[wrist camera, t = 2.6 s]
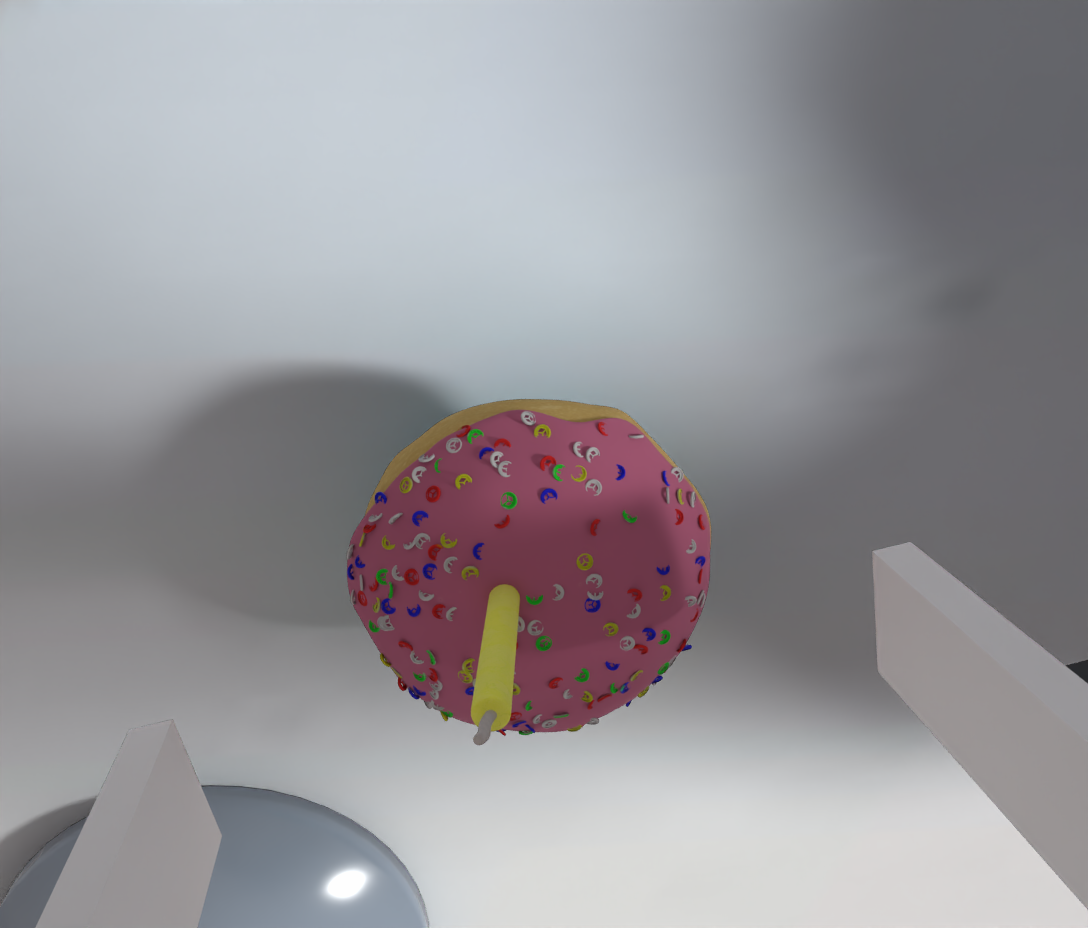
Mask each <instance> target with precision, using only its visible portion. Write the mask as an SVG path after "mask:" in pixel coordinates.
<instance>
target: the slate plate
mask: <svg viewBox="0 0 1088 928" xmlns="http://www.w3.org/2000/svg"><path fill="white" fill-rule="evenodd" d="M202 790H203V792H204V794H205V797H206V799H207V801H208V804H209V806H210V809H211V811H212V813H213V816H214V818H215V820H216V823H217V825H218V827H219V830H220V832H221V835H222V838H221V842H220V845H219V849H218V853H217V857H216V860H215V864H214V868H213V872H212V875H211V879H210V883H209V886H208V890H207V894H206V898H205V901H204V905H203V909H202V913H201V916H200V920H199V924H198V927H197V928H429V921H428V916H427V912H426V907H425V903H424V901H423V899H422V896H421V894H420V891H419V889H418V887H417V884H416V883H415V881H414V880H413V878H412V876H411V875H410V873H409V872H408V870H407V868H406V867H405V865H404V864H403V863H402V862H401V861H400V860H399V859H398V857H397V856H396V855H395V854H394V853H393V852H392V851H391V849H390V848H388V847H387V846H386V845H385V844H384V843H383V842H382V841H380V840H379V839H378V838H377V837H376V836H375V835H373V834H372V833H371V832H369V831H368V830H366V829H365V828H363V827H362V826H360V825H359V824H357V823H356V822H354V821H353V820H351V819H349V818H347V817H345V816H343V815H341V814H339V813H337V812H335V811H333V810H331V809H329V808H327V807H324V806H322V805H319V804H316V803H313V802H310V801H308V800H305V799H302V798H299V797H295V796H291V795H286V794H282V793H278V792H274V791H269V790H261V789H253V788H246V787H227V786H204V787H202ZM87 818H88V817H86V818H84V819H82V820H81V821H79V822H77V823H75V824H74V825H72V826H70V827H68V828H67V829H66V830H64V831H63V832H62V833H60V834H59V835H58V836H56V837H55V838H54V839H52V840H51V841H50V842H48V843H47V844H46V845H45V846H44V847H43V848H42V849H41V850H40V851H39V852H38V853H37V854H36V855H35V856H34V857H33V858H32V859H31V860H30V861H29V862H28V863H27V864H26V866H25V867H24V868H23V870H22V871H21V872H20V874H19V875H18V877H17V878H16V879H15V881H14V882H13V884H12V886H11V888H10V889H9V891H8V893H7V895H6V897H5V898H4V900H3V902H2V904H1V906H0V928H35V927H36V925H37V923H38V921H39V919H40V917H41V915H42V913H43V911H44V908H45V906H46V904H47V902H48V900H49V898H50V896H51V894H52V892H53V889H54V887H55V885H56V883H57V881H58V879H59V877H60V875H61V873H62V870H63V868H64V866H65V864H66V862H67V860H68V858H69V856H70V854H71V851H72V849H73V847H74V845H75V843H76V841H77V839H78V837H79V835H80V832H81V830H82V828H83V826H84V824H85V822H86V820H87Z"/></svg>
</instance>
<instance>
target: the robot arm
mask: <svg viewBox="0 0 1088 928" xmlns="http://www.w3.org/2000/svg"><path fill="white" fill-rule="evenodd" d="M872 559H873V581H874V603H875V625H876V647H877V669H878V673H879V674H880V675H881V676H882V677H883V678H884V679H885V680H886V682H887V683H888V684H889V685H890V686H891V687H892V688H893V690H894V691H895V692H896V693H897V694H898V695H899V696H900V697H901V699H902V700H903V701H904V702H905V703H906V704H907V705H908V707H909V708H910V709H911V710H912V711H913V712H914V713H915V714H916V716H917V717H918V718H919V719H920V720H921V721H922V722H923V724H924V725H925V726H926V727H927V728H928V729H929V730H930V731H931V733H932V734H933V735H934V736H935V737H936V738H937V739H938V741H939V742H940V743H941V744H942V745H943V746H944V747H945V748H946V750H947V751H948V752H949V753H950V754H951V755H952V756H953V758H954V759H955V760H956V761H957V762H958V763H959V764H960V765H961V767H962V768H963V769H964V770H965V771H966V772H967V773H968V775H969V776H970V777H971V778H972V779H973V780H974V781H975V782H976V784H977V785H978V786H979V787H980V788H981V789H982V790H983V792H984V793H985V794H986V795H987V796H988V797H989V798H990V799H991V801H992V802H993V803H994V804H995V805H996V806H997V807H998V809H999V810H1000V811H1001V812H1002V813H1003V814H1004V815H1005V816H1006V818H1007V819H1008V820H1009V821H1010V822H1011V823H1012V824H1013V826H1014V827H1015V828H1016V829H1017V830H1018V831H1019V832H1020V833H1021V835H1022V836H1023V837H1024V838H1025V839H1026V840H1027V841H1028V843H1029V844H1030V845H1031V846H1032V847H1033V848H1034V849H1035V851H1036V852H1037V853H1038V854H1039V855H1040V856H1041V857H1042V858H1043V860H1044V861H1045V862H1046V863H1047V864H1048V865H1049V866H1050V868H1051V869H1052V870H1053V871H1054V872H1055V873H1056V874H1057V875H1058V877H1059V878H1060V879H1061V880H1062V881H1063V882H1064V883H1065V885H1066V886H1067V887H1068V888H1069V889H1070V890H1071V891H1072V892H1073V894H1074V895H1075V896H1076V897H1077V898H1078V899H1079V900H1080V902H1081V903H1082V904H1083V905H1084V906H1085V907H1086V908H1087V909H1088V660H1086V661H1082V662H1078V663H1074V664H1070V665H1066V666H1065V665H1064V664H1063V663H1061V662H1060V661H1059V660H1058V659H1056V658H1055V657H1054V656H1053V655H1051V654H1050V653H1049V652H1048V651H1046V650H1045V649H1044V648H1043V647H1041V646H1040V645H1039V644H1038V643H1036V642H1035V641H1034V640H1033V639H1031V638H1030V637H1029V636H1028V635H1026V634H1025V633H1024V632H1023V631H1021V630H1020V629H1019V628H1018V627H1016V626H1015V625H1014V624H1013V623H1011V622H1010V621H1009V620H1008V619H1006V618H1005V617H1004V616H1003V615H1001V614H1000V613H999V612H998V611H996V610H995V609H994V608H993V607H991V606H990V605H989V604H988V603H986V602H985V601H984V600H983V599H981V598H980V597H979V596H978V595H976V594H975V593H974V592H973V591H971V590H970V589H969V588H968V587H966V586H965V585H964V584H963V583H961V582H960V581H959V580H958V579H956V578H955V577H954V576H953V575H951V574H950V573H949V572H948V571H946V570H945V569H944V568H943V567H941V566H940V565H939V564H938V563H936V562H935V561H934V560H933V559H931V558H930V557H929V556H928V555H926V554H925V553H924V552H923V551H921V550H920V549H919V548H918V547H916V546H915V545H914V544H913V543H911V542H907V543H903V544H899V545H895V546H891V547H887V548H882V549H878V550H874V551H872ZM221 838H222V835H221V832H220V830H219V827H218V825H217V823H216V820H215V818H214V816H213V813H212V811H211V809H210V806H209V804H208V801H207V799H206V797H205V794H204V792H203V790H202V787H201V785H200V783H199V780H198V778H197V775H196V773H195V771H194V768H193V766H192V764H191V761H190V759H189V757H188V754H187V752H186V749H185V747H184V745H183V742H182V740H181V738H180V735H179V733H178V731H177V728H176V726H175V723H174V721H173V719H171V720H167V721H163V722H159V723H155V724H150V725H146V726H142V727H138V728H134V729H130V730H129V731H128V733H127V735H126V738H125V740H124V742H123V744H122V746H121V748H120V750H119V752H118V754H117V757H116V759H115V761H114V763H113V765H112V767H111V769H110V771H109V773H108V776H107V778H106V780H105V782H104V784H103V786H102V788H101V790H100V792H99V795H98V797H97V799H96V801H95V803H94V805H93V807H92V809H91V811H90V813H89V816H88V818H87V820H86V822H85V824H84V826H83V828H82V830H81V832H80V835H79V837H78V839H77V841H76V843H75V845H74V847H73V849H72V851H71V854H70V856H69V858H68V860H67V862H66V864H65V866H64V868H63V870H62V873H61V875H60V877H59V879H58V881H57V883H56V885H55V887H54V889H53V892H52V894H51V896H50V898H49V900H48V902H47V904H46V906H45V908H44V911H43V913H42V915H41V917H40V919H39V921H38V923H37V925H36V927H35V928H197V927H198V924H199V920H200V916H201V913H202V909H203V905H204V901H205V898H206V894H207V890H208V886H209V883H210V879H211V875H212V872H213V868H214V864H215V860H216V857H217V853H218V849H219V845H220V842H221Z"/></svg>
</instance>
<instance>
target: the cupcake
mask: <svg viewBox="0 0 1088 928" xmlns="http://www.w3.org/2000/svg"><path fill="white" fill-rule="evenodd" d="M710 549H711V523H710V517H709V514H708V510H707V508H706V505H705V503H704V501H703V499H702V497H701V496H700V494H699V492H698V491H697V490H696V488H695V487H694V485H693V484H692V483H691V482H690V481H689V479H688V478H687V477H686V476H685V475H684V474H683V471H682V469H681V468H679V467H677V466H676V464H675V463H674V462H673V461H672V460H671V459H670V457H669V456H668V455H667V454H666V453H665V452H664V451H663V450H662V449H661V447H660V446H659V445H658V444H657V443H656V442H655V441H654V440H653V439H652V438H651V437H650V436H649V435H648V434H647V433H646V432H645V431H644V429H643V428H642V427H641V426H640V425H639V424H638V423H637V422H636V421H634V420H633V419H632V418H631V417H630V416H628V415H627V414H626V413H624V412H622V411H620V410H618V409H615V408H612V407H607V406H598V405H590V404H584V403H577V402H571V401H562V400H542V399H517V400H505V401H497V402H492V403H487V404H483V405H478V406H474V407H471V408H468V409H465V410H462V411H460V412H457V413H455V414H452V415H450V416H448V417H446V418H444V419H443V420H441V421H440V422H438V423H437V424H435V425H434V426H433V427H431V428H430V429H429V430H428V431H426V432H425V433H424V434H423V435H422V436H420V437H419V438H418V439H417V440H415V441H414V442H413V443H411V444H410V445H408V446H407V447H406V448H404V449H403V450H402V451H401V452H400V453H398V454H397V455H396V456H395V457H394V459H393V460H392V461H391V463H390V464H389V465H388V467H387V469H386V470H385V472H384V474H383V476H382V478H381V480H380V482H379V484H378V485H377V487H376V489H375V491H374V493H373V495H372V497H371V499H370V502H369V504H368V507H367V510H366V513H365V516H364V518H363V519H362V521H361V522H360V524H359V525H358V527H357V528H356V530H355V532H354V534H353V536H352V538H351V541H350V545H349V548H348V551H347V555H346V558H347V559H348V561H347V580H348V588H349V594H350V601H351V604H352V605H353V606H354V608H355V610H356V612H357V613H358V615H359V617H360V619H361V620H362V622H363V624H364V626H365V627H366V629H367V631H368V633H369V634H370V636H371V638H372V640H373V641H374V643H375V645H376V646H377V648H378V650H379V651H380V653H381V654H380V659H381V661H382V662H383V664H384V665H386V666H388V667H391V669H392V670H393V671H394V673H395V674H396V675H397V677H398V685H399V688H400V689H401V690H402V691H405V690H406V689H407V688H408V690H409V693H410V694H411V696H412V697H413V698H415V699H419V698H421V699H422V700H424V702H425V704H426V706H427V707H428V708H429V709H431V708H434V709H435V710H439V711H440V712H441V715H442V717H443V719H444V720H445V721H448V717H453V718H455V719H458V720H460V721H463V722H467V723H470V724H474V725H476V726H477V727H478V733H477V734H476V735H475V736H474V738H473V741H474V743H475V744H476V745H482V744H484V743H485V742H486V741H487V740H488V739H489V737H490V733H491V731H497V732H500V733H502V734H503V735H504V736H505V735H506V734H505V733H504V732H503V731H506V730H513V731H519V734H521V735H529V734H532V733H535V732H558V731H566V730H568V731H571V732H573V731H577V730H579V729H581V727H582V726H584V725H585V724H597V723H599V719H598V718H600V717H602V716H604V715H606V714H608V713H610V712H612V711H614V710H615V709H617V708H619V707H621V706H623V705H624V704H626V706H627V707H628V706H629V704H630V703H631V701H632V699H634V698H635V697H637V696H638V697H642V696H644V695H645V694H646V693H647V691H648V690H649V685H650V684H652V685H653V686H655V685H656V683H657V682H659V681H661V680H662V678H663V677H662V676H660V675H661V674H663V673H665V672H666V670H667V669H668V668H669V667H670V666H671V665H672V664H673V662H674V660H675V658H676V657H677V656H678V654H679V653H680V652H681V651H685V650H689V649H691V648H692V646H691V645H686V642H687V641H688V639H689V637H690V635H691V633H692V631H693V629H694V627H695V625H696V623H697V621H698V619H699V617H700V614H701V612H702V609H703V606H704V603H705V600H706V596H707V592H708V586H709V578H710ZM384 659H385V660H386V661H385V660H384ZM658 678H659V679H658ZM401 683H402V684H403V686H402V685H401ZM645 689H646V690H645ZM644 690H645V691H644ZM413 693H414V694H413ZM641 693H642V694H641ZM592 721H595V722H592ZM522 731H524V732H522Z"/></svg>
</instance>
